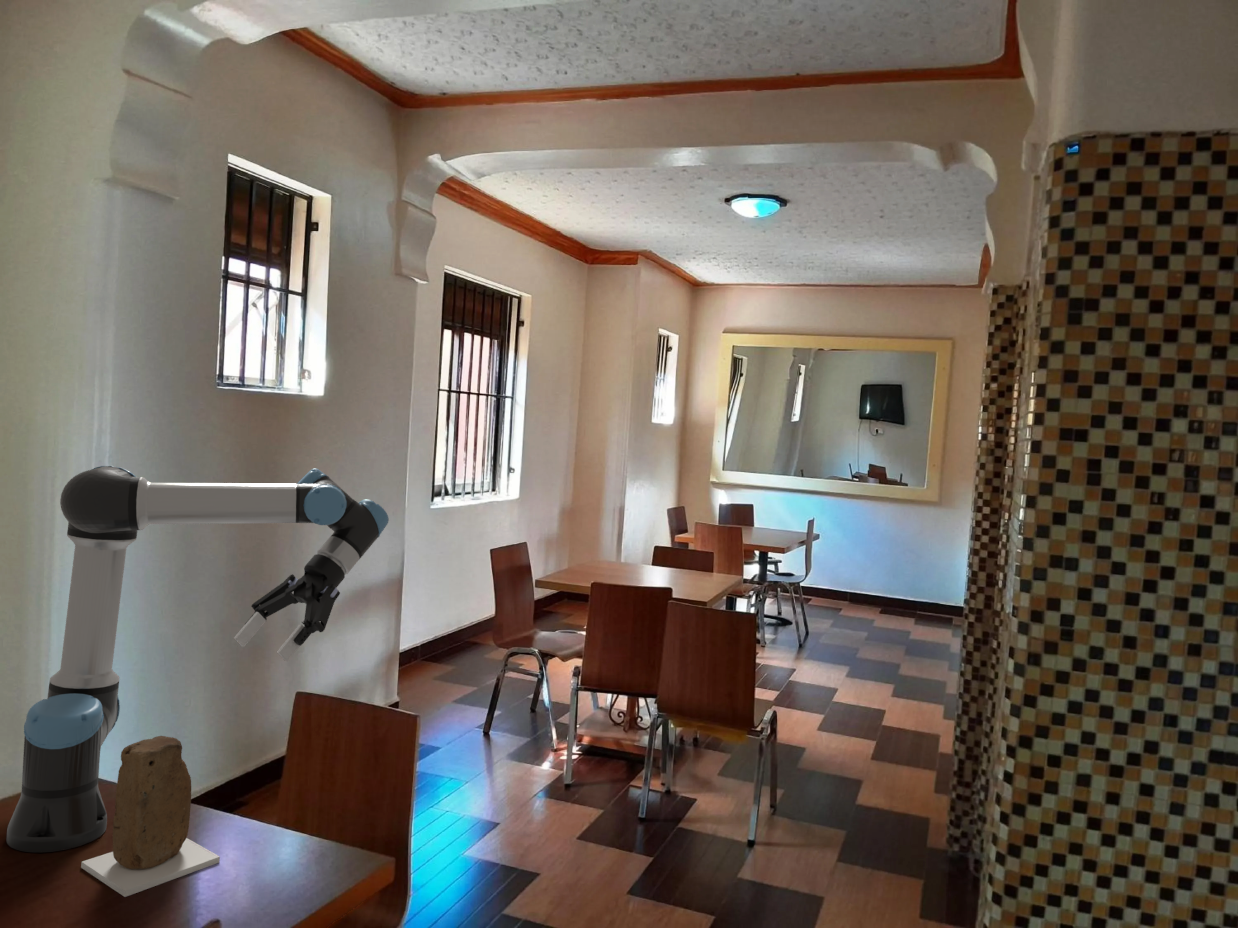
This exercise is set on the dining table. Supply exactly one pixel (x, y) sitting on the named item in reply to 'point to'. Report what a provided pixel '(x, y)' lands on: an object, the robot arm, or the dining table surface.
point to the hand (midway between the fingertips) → (259, 649)
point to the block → (151, 803)
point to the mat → (149, 869)
